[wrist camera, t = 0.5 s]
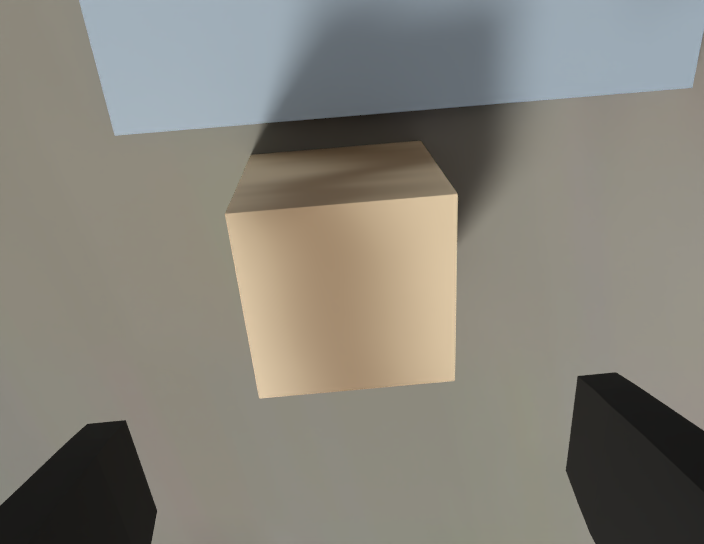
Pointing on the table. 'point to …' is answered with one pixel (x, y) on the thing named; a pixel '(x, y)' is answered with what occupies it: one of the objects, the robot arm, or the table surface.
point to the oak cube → (346, 268)
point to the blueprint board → (375, 55)
